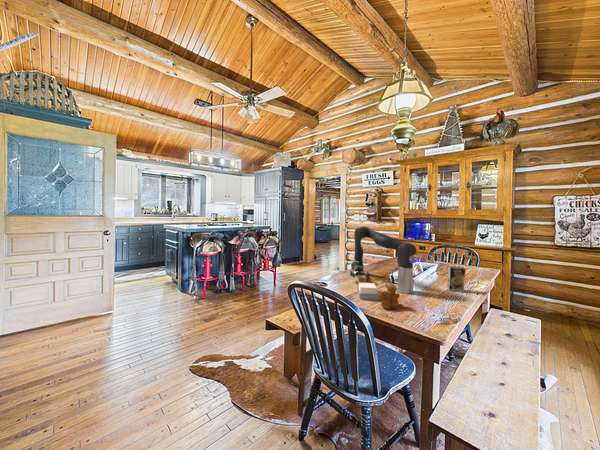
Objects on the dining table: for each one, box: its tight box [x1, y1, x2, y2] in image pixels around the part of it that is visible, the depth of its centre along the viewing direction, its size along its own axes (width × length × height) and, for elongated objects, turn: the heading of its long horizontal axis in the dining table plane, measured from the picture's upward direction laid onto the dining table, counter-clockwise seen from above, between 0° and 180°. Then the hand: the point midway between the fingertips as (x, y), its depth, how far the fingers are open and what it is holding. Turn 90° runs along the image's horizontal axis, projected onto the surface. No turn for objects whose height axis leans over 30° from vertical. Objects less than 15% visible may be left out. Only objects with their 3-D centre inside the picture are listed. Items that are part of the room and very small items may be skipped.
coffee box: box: [446, 266, 466, 293], centre depth 179 cm, size 9×6×16 cm
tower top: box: [359, 282, 378, 294], centre depth 165 cm, size 10×10×4 cm
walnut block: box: [357, 275, 367, 291], centre depth 177 cm, size 5×5×10 cm
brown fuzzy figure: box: [377, 283, 404, 310], centre depth 149 cm, size 10×14×13 cm
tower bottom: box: [358, 291, 379, 301], centre depth 165 cm, size 11×11×4 cm
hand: (360, 276), depth 188 cm, fingers open, 8 cm apart
